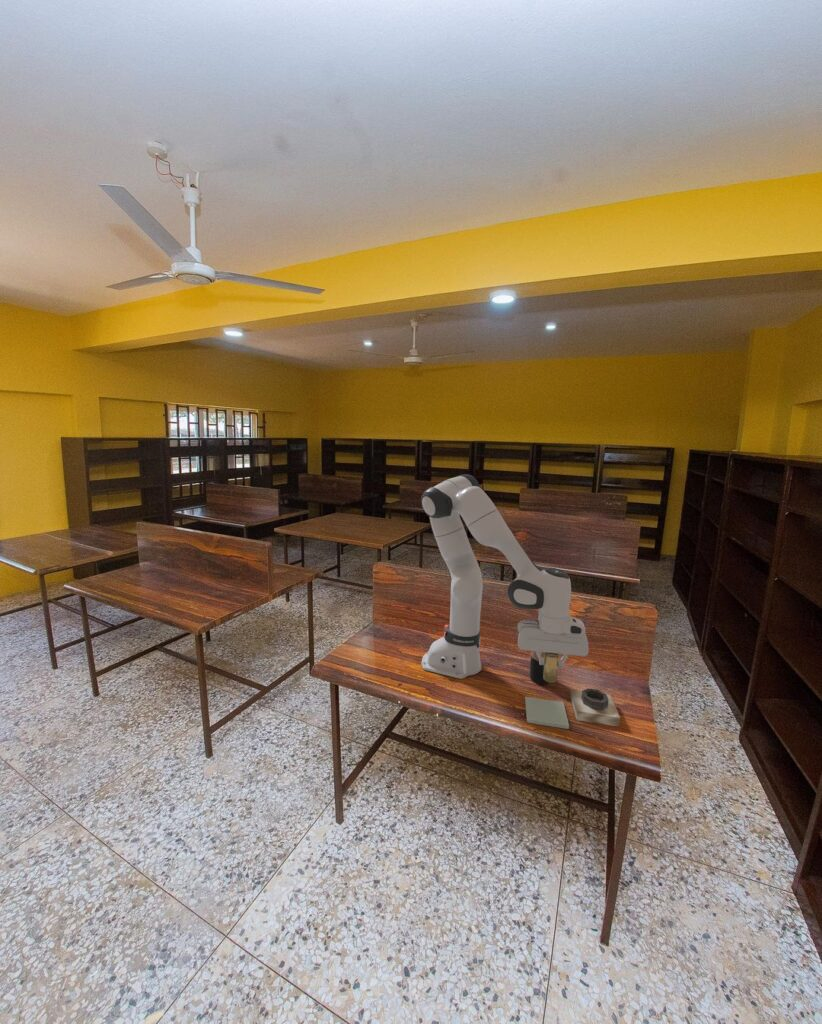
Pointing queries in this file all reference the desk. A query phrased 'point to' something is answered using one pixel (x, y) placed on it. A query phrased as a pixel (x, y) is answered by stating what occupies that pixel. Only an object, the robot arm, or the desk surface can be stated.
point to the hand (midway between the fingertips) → (550, 665)
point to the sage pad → (546, 712)
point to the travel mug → (537, 669)
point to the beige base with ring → (594, 707)
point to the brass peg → (550, 667)
